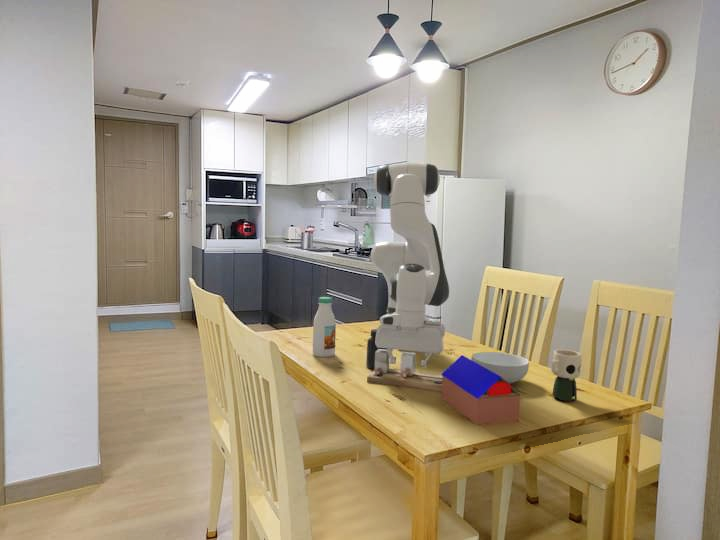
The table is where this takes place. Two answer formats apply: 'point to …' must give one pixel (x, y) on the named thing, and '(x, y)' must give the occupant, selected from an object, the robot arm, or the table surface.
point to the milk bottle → (324, 329)
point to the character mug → (566, 373)
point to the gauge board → (394, 378)
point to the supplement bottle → (372, 350)
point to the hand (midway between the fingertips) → (408, 365)
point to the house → (479, 393)
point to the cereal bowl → (503, 364)
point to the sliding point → (407, 364)
